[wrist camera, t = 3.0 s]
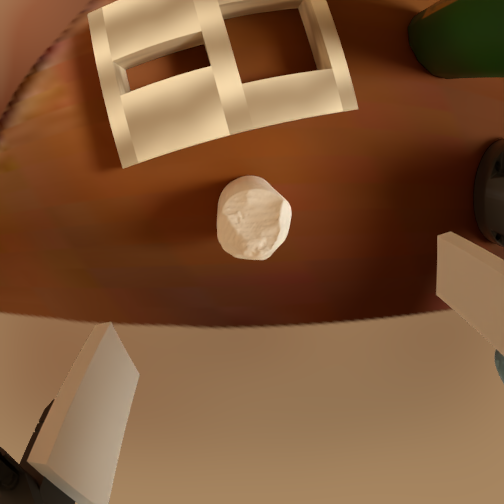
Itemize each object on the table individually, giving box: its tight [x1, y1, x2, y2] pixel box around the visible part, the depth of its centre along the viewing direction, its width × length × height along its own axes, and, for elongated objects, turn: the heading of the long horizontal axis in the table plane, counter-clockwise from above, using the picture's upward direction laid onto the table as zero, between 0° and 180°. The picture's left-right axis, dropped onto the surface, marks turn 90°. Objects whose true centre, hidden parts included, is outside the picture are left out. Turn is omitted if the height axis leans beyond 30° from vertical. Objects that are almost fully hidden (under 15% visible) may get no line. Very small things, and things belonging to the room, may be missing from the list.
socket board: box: [88, 0, 358, 168], centre depth 23 cm, size 16×21×4 cm
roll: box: [217, 175, 292, 260], centre depth 25 cm, size 6×12×6 cm
